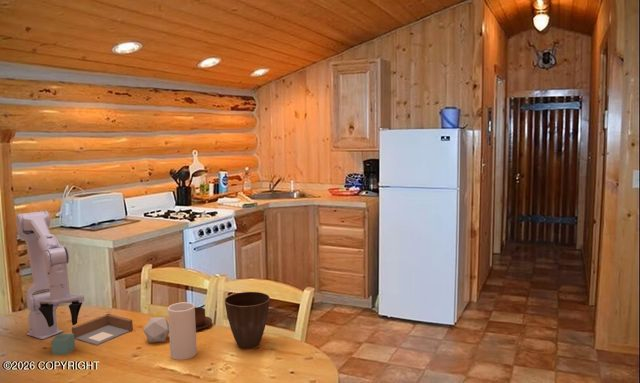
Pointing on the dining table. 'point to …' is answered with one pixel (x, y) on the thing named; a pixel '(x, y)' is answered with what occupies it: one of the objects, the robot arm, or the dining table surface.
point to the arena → (102, 329)
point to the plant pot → (247, 317)
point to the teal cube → (63, 344)
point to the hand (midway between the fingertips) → (63, 325)
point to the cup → (182, 330)
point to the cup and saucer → (201, 318)
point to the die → (157, 329)
